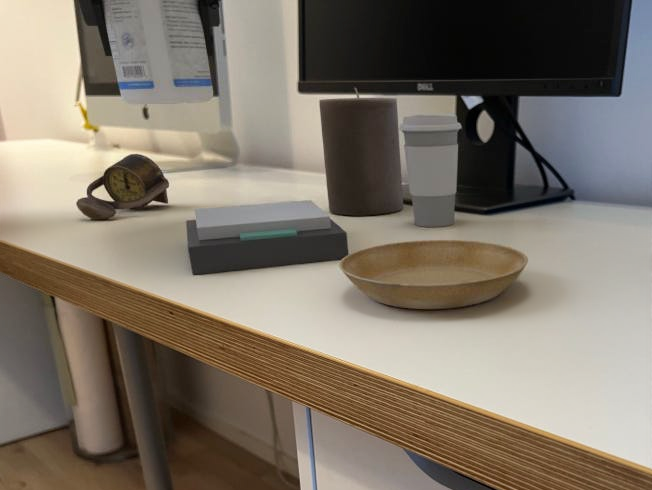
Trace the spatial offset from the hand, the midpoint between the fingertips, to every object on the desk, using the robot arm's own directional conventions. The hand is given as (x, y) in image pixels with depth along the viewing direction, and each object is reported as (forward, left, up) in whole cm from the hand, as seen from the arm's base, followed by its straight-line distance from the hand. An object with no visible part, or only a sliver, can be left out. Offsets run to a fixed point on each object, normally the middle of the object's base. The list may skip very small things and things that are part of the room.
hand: (159, 46), depth 78 cm
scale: (+7, -20, -20) cm, 29 cm away
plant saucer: (+18, -41, -20) cm, 49 cm away
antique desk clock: (-8, +13, -20) cm, 25 cm away
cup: (+27, -14, -20) cm, 36 cm away
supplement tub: (0, -3, -6) cm, 7 cm away
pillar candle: (+22, -1, -20) cm, 30 cm away
